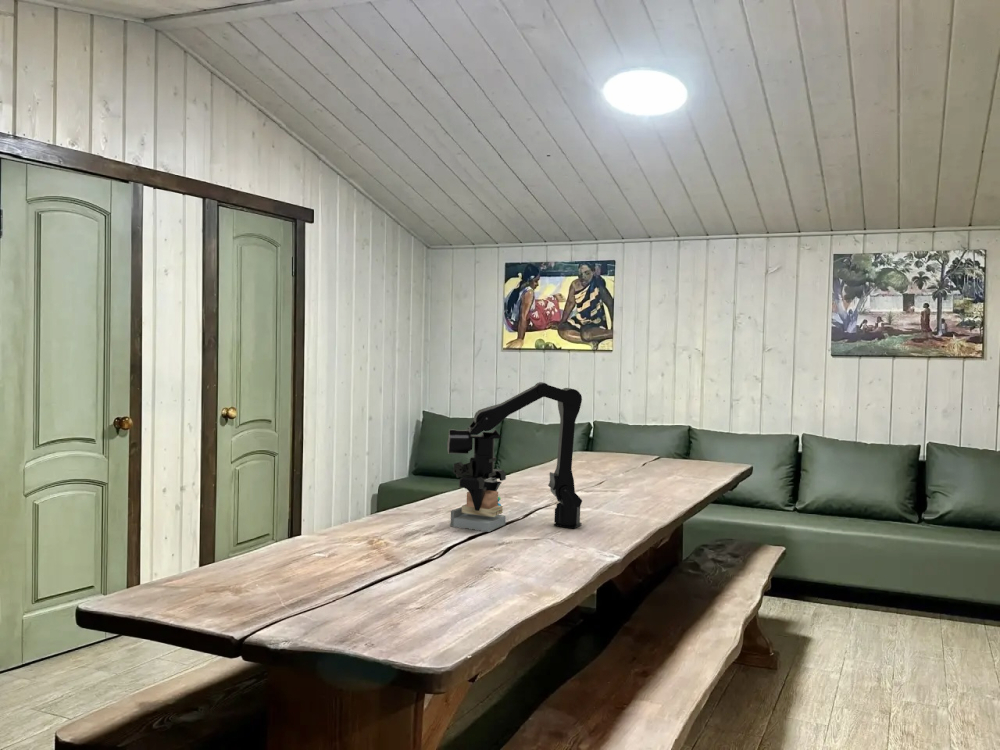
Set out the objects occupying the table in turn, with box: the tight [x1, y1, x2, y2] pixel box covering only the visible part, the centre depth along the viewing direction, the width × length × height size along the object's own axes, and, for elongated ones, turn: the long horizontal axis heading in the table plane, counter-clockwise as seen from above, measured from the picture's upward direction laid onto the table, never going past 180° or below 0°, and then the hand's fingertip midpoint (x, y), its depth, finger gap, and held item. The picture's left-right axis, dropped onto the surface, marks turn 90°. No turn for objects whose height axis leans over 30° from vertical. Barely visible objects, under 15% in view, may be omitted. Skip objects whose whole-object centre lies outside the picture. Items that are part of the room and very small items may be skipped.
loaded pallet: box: [461, 490, 504, 517], centre depth 226 cm, size 10×6×6 cm, turn 65°
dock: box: [449, 506, 507, 533], centre depth 227 cm, size 12×11×4 cm
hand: (482, 508), depth 226 cm, fingers closed on loaded pallet, 6 cm apart
